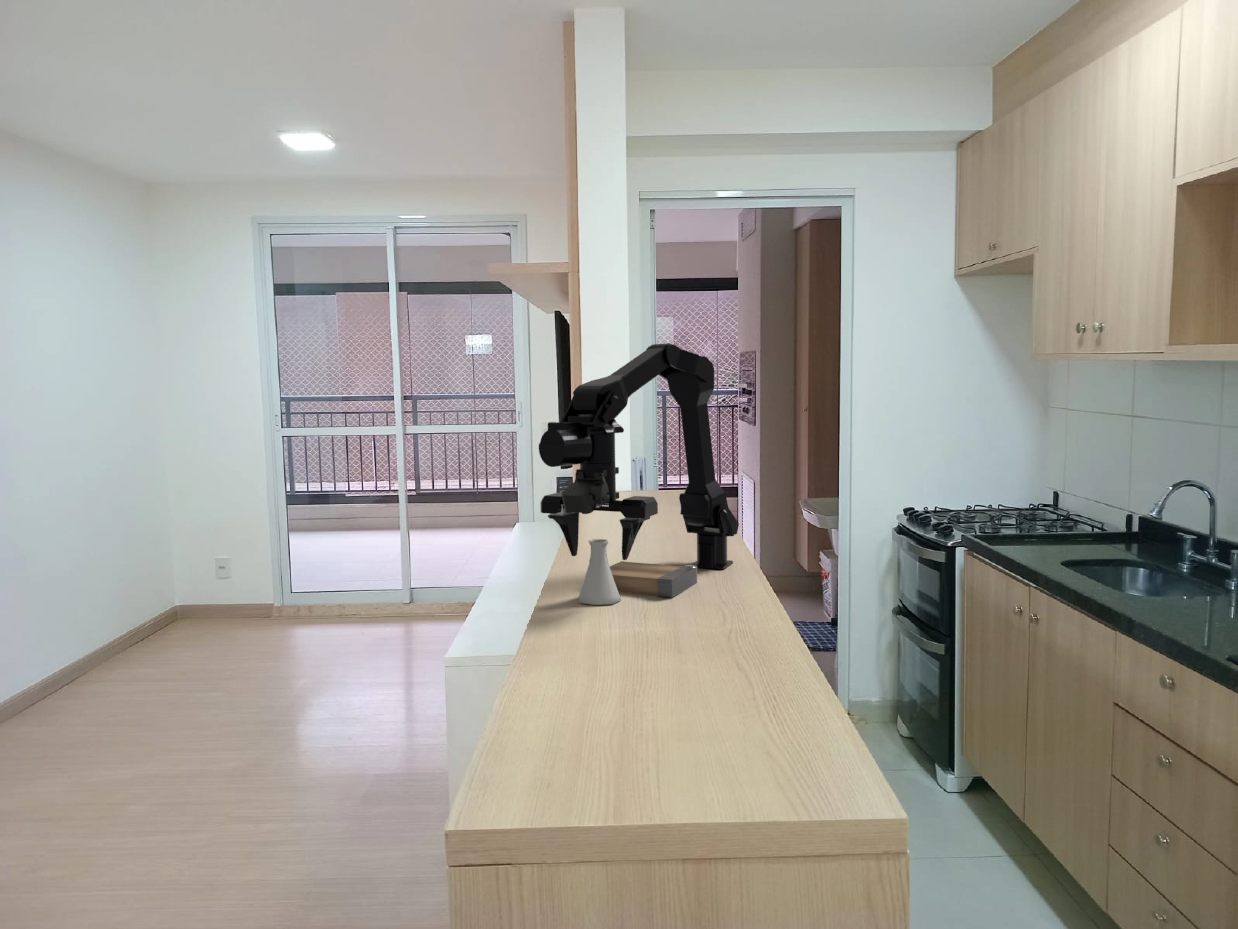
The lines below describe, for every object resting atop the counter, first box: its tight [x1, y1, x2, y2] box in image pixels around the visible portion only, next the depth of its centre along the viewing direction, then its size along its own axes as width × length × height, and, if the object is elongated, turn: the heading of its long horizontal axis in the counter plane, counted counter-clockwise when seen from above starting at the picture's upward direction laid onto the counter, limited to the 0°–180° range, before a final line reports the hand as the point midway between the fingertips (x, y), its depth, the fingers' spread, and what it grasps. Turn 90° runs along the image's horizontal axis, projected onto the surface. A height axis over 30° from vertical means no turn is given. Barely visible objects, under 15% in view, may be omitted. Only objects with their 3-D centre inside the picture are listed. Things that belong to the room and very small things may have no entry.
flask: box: [577, 538, 622, 606], centre depth 139 cm, size 7×7×10 cm
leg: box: [657, 564, 698, 599], centre depth 146 cm, size 12×2×3 cm, turn 153°
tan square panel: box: [609, 560, 683, 597], centre depth 149 cm, size 11×12×3 cm
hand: (599, 557), depth 139 cm, fingers open, 9 cm apart
